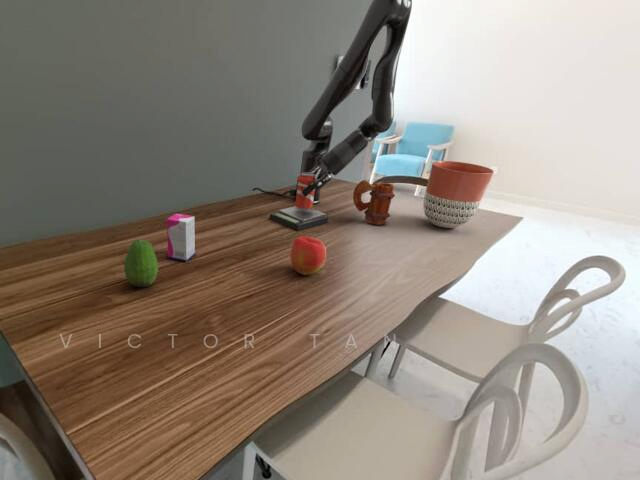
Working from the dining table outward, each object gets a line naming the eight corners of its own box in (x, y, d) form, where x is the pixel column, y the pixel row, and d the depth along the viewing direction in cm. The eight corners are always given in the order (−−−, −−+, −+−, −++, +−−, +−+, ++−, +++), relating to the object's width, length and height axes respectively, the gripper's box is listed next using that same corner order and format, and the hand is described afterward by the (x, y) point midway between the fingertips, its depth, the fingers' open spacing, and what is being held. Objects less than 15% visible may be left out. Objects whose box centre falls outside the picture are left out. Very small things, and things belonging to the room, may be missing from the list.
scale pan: (278, 212, 143) (278, 210, 143) (300, 207, 150) (301, 205, 150) (303, 221, 136) (303, 219, 135) (325, 216, 143) (325, 213, 142)
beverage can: (315, 208, 142) (320, 174, 136) (305, 211, 138) (310, 177, 132) (301, 204, 145) (306, 171, 139) (291, 207, 141) (295, 173, 135)
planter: (470, 223, 152) (491, 166, 141) (472, 239, 136) (496, 176, 125) (416, 213, 158) (433, 158, 147) (413, 228, 143) (431, 167, 132)
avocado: (161, 291, 94) (158, 244, 88) (126, 294, 92) (121, 247, 85) (157, 276, 100) (154, 231, 94) (125, 278, 98) (120, 233, 92)
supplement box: (195, 254, 113) (195, 215, 107) (186, 262, 108) (185, 222, 102) (177, 250, 115) (176, 212, 109) (167, 258, 110) (165, 218, 104)
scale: (269, 218, 143) (269, 212, 142) (299, 211, 152) (299, 205, 151) (297, 230, 134) (298, 224, 133) (327, 222, 143) (328, 216, 142)
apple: (314, 284, 101) (320, 248, 96) (281, 273, 105) (285, 239, 100) (327, 271, 108) (334, 237, 103) (296, 261, 112) (300, 228, 107)
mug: (385, 220, 149) (395, 180, 142) (390, 227, 142) (401, 185, 135) (346, 216, 150) (354, 176, 142) (349, 224, 143) (358, 182, 135)
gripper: (326, 145, 138) (290, 179, 143) (339, 153, 126) (299, 189, 131) (338, 161, 142) (302, 193, 146) (352, 170, 129) (312, 205, 134)
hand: (301, 191), depth 138 cm, fingers closed on beverage can, 6 cm apart
